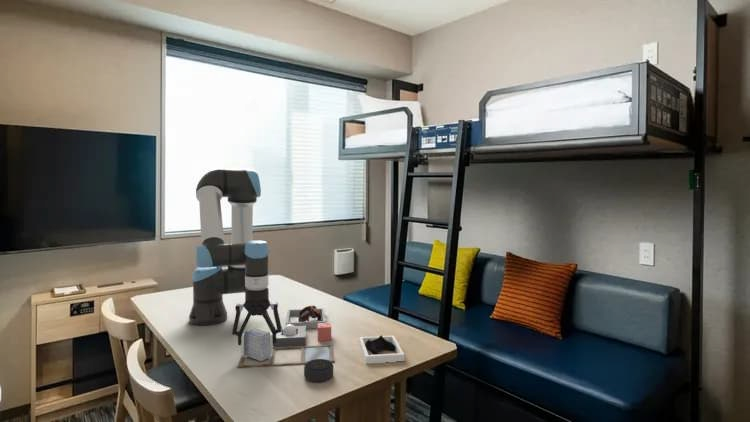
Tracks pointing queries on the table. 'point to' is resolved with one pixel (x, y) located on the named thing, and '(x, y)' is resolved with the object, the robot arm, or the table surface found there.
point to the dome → (289, 330)
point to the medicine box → (257, 344)
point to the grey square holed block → (291, 337)
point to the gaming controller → (378, 345)
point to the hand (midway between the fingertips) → (257, 353)
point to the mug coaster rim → (308, 324)
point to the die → (324, 331)
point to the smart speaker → (318, 370)
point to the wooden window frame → (311, 354)
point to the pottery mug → (309, 314)
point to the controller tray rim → (381, 357)
